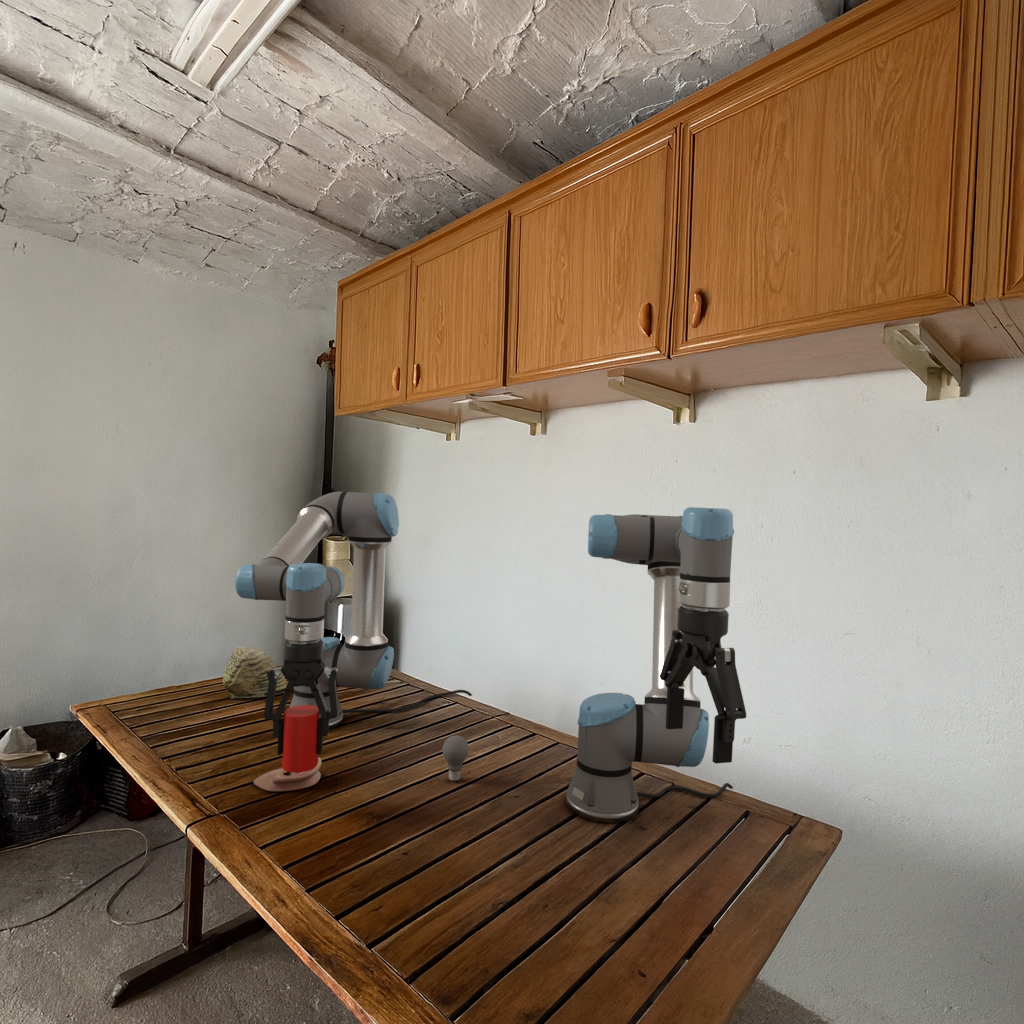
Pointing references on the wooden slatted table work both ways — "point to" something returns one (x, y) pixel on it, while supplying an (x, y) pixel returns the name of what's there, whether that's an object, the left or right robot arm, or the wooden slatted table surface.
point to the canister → (300, 738)
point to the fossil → (250, 674)
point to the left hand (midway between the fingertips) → (300, 751)
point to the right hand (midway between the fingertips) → (696, 744)
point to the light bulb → (455, 755)
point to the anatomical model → (288, 779)
